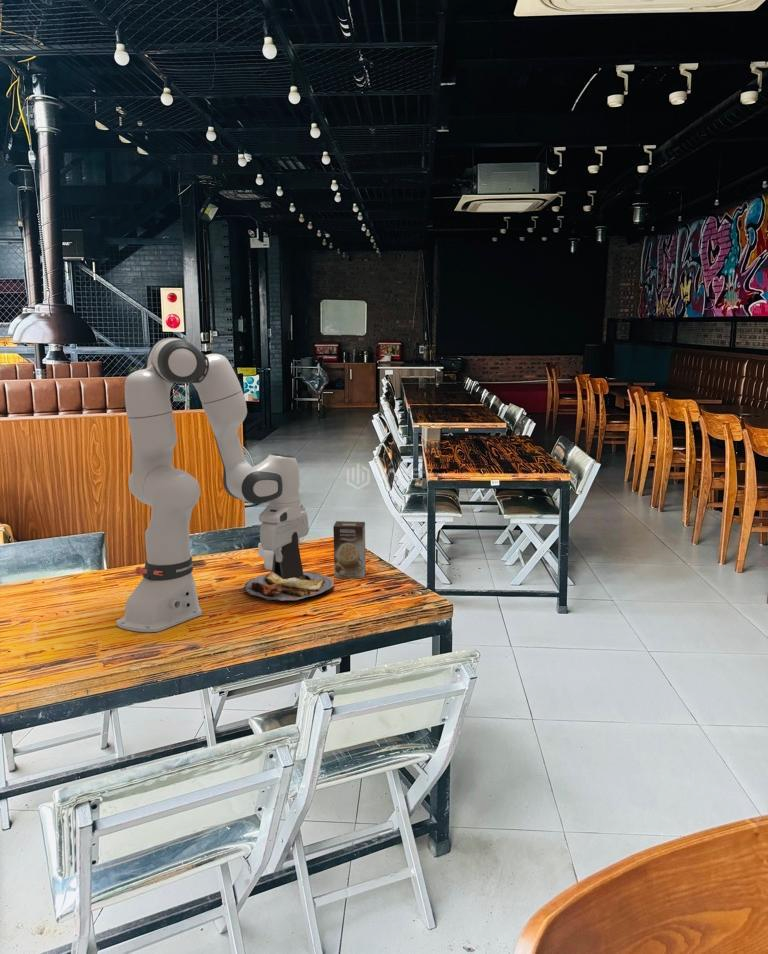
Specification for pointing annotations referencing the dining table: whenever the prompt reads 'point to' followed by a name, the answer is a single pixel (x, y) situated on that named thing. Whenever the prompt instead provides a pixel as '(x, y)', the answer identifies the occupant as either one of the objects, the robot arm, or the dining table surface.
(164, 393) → the robot arm
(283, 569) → the door stopper
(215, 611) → the dining table surface
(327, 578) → the food plate
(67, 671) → the dining table surface
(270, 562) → the white ceramic cup
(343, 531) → the coffee box
